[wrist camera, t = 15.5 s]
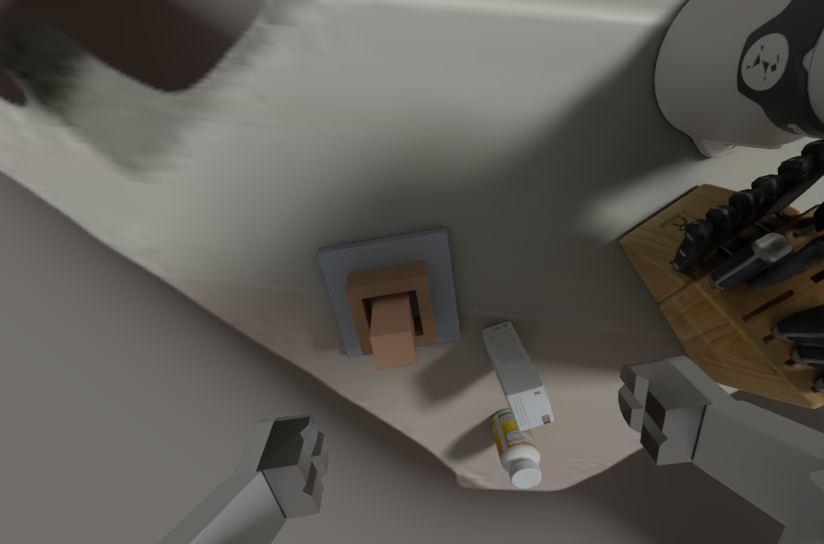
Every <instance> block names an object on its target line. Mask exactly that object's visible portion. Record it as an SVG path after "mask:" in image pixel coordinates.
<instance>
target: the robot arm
mask: <svg viewBox="0 0 824 544" xmlns="http://www.w3.org/2000/svg"><path fill="white" fill-rule="evenodd" d="M655 92H656V97H657V101H658V104H659V107H660V109H661V111H662V113H663V115H664V116H665V118H666V119H667V120H668V121H669V122H670V123H671V124H672V125H673V126H674V127H676V128H677V129H679V130H680V131H682V132H684V133H686V134H687V135H689V136H690V137H691V138H692V139H693V140H694V142H695V144H696V146H697V148H698V149H699V151H700V152H701V154H703V155H704V156H706V157H719V156H722V155H725V154H728V153H730V152H733V151H736V150H739V149H742V148H744V147H753V148H764V149H778V148H781V147H782V145H783V144H787V143H790V142H794V141H796V140H799V139H801V138H803V137H806V136H807V137H810V138H817V139H824V0H689V1H688V3H687V4H686V5H685V6H684V7H683V9H682V10H681V11H680V12H679V14H678V15H677V17H676V18H675V20H674V21H673V23H672V25H671V26H670V28H669V30H668V32H667V34H666V36H665V38H664V40H663V43H662V45H661V48H660V51H659V55H658V59H657V63H656V69H655ZM620 378H621V380H622V381H623V382H624V383H625V384H624V385H623V386H622V387H621V388H620V389H619V392H618V402H619V406H620V411H621V413H622V415H623V417H624V419H625V421H626V422H627V424H628V425H629V427H630V428H632V429H634V430H636V431H637V432H639V433H641V439H640V443H641V444H642V446H643V447H644V448H645V450H646V451H647V453H648V454H649V456H650V457H651V458H652V460H653V461H654V463H655V464H656V465H664V464H673V463H682V462H691V461H693V464H695V465H696V466H698V467H699V468H701V469H702V470H704V471H705V472H707V473H708V474H710V475H711V476H713V477H714V478H716V479H717V480H719V481H720V482H721V483H723V484H724V485H726V486H727V487H729V488H730V489H732V490H734V491H735V492H736V493H738V494H739V495H741V496H742V497H744V498H745V499H747V500H748V501H750V502H751V503H753V504H754V505H756V506H757V507H759V508H760V509H762V510H763V511H764V512H766V513H768V514H769V515H770V516H772V517H773V518H775V519H776V520H778V521H779V522H781V523H782V524H784V525H785V526H786V528H785V530H784V532H783V534H782V536H781V539H780V541H779V544H824V434H823V433H820V432H818V431H815V430H813V429H811V428H808V427H806V426H803V425H801V424H798V423H796V422H794V421H791V420H789V419H786V418H783V417H782V416H779V415H777V414H774V413H772V412H769V411H767V410H765V409H762V408H759V407H757V406H755V405H753V404H750V403H748V402H745V401H735V400H734V399H733V398H732V397H731V396H730V395H729V394H728V393H727V392H726V391H724V390H723V389H722V388H721V387H720V386H719V385H718V384H717V383H716V382H715V381H713V380H712V379H711V378H710V377H709V376H708V375H707V374H706V373H705V372H704V371H702V370H701V369H700V368H699V367H698V366H697V365H696V364H695V363H694V362H693V361H692V360H690V359H689V358H687V357H685V356H679V357H672V358H666V359H662V360H655V361H648V362H642V363H636V364H630V365H624V366H623V367H622V369H621V372H620ZM319 425H320V422H319V419H318V417H317V414H315V413H308V414H300V415H293V416H285V417H278V418H272V419H264V420H259V421H258V422H257V423H256V424H255V426H254V428H253V430H252V433H251V436H250V438H249V440H248V442H247V445H246V447H245V450H244V452H243V454H242V457H241V459H240V461H239V464H238V466H237V468H236V471H235V474H234V475H232V476H228V477H227V478H226V479H224V480H223V481H222V482H221V483H220V484H219V485H218V486H217V487H216V488H215V489H214V490H213V491H212V492H211V493H210V494H209V495H208V496H207V497H206V498H205V499H203V501H201V502H200V504H198V505H197V506H196V507H195V508H194V509H193V510H192V511H191V512H190V513H189V514H188V515H187V516H186V517H185V518H184V519H182V520H181V521H180V522H179V523H178V524H177V525H176V526H175V527H174V528H173V529H172V530H171V531H170V532H169V533H168V534H167V535H166V536H165V537H164V538H163V539H162V540H160V541H159V542H158V543H157V544H271V542H272V541H273V539H274V538H275V536H276V535H277V534H278V532H279V531H280V529H281V528H282V526H283V525H284V524H285V522H286V520H285V519H289V518H295V517H301V516H307V515H312V514H318V513H319V511H320V505H321V500H322V495H323V489H324V487H323V485H322V482H321V478H322V477H323V475H324V474H325V473H326V472H327V466H328V445H327V440H326V437H325V435H324V434H323V433H321V432H320V431H318V430H319Z"/></svg>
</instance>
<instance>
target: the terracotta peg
mask: <svg viewBox="0 0 824 544" xmlns="http://www.w3.org/2000/svg"><path fill="white" fill-rule="evenodd" d="M370 341H371V345H372V349H373V353H374V357H375V361H376V364H377V368H378V370H380V369H386V368H393V367H399V366H405V365H412V364H417V354H416V341H415V329H414V316H413V308H412V302H411V297H410V292H409V291H407V292H401V293H395V294H389V295H383V296H376V297H374V299H373V309H372V319H371V328H370Z"/></svg>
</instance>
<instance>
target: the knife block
mask: <svg viewBox="0 0 824 544" xmlns="http://www.w3.org/2000/svg"><path fill="white" fill-rule="evenodd" d="M801 155H802V156H797V157H793V158H790V159H788V160H786V161H783V162H782V163H781V165H780V166H779V168H778V175H773V174H770V175H766V176H762V177H758V178H757V179H756V180H755V181H754V182H752V184H751V186H752V189H746V190H742V191H739V192H737V191H733V190H729V189H726V188H722V187H718V186H714V185H710V184H703V185H701V186H699V187H698V188H696V189H695V190H693V191H692V192H690V193H689V194H687V195H686V196H684V197H683V198H681V199H680V200H678V201H677V202H675V203H674V204H672V205H671V206H669V207H668V208H666V209H665V210H663V211H662V212H660V213H659V214H657V215H656V216H654V217H653V218H651V219H650V220H648V221H647V222H645V223H644V224H642V225H641V226H639V227H638V228H636V229H635V230H633V231H632V232H630V233H629V234H627V235H626V236H624V237H623V238H622V239H620V240H619V244H620V245H621V247H622V248H623V250H624V252H625V253H626V255H627V256H628V258H629V260H630V261H631V263H632V264H633V266H634V268H635V269H636V271H637V272H638V274H639V276H640V277H641V279H642V280H643V282H644V284H645V285H646V287H647V288H648V290H649V291H650V293H651V294H652V295H653V297H654V298H655V299H656V301H657V302H659V303H660V304H659V308H660V310H661V311H662V313H663V315H664V316H665V318H666V320H667V321H668V323H669V325H670V326H671V328H672V330H673V331H674V333H675V334H676V336H677V338H678V339H679V341H680V343H681V344H682V346H683V347H684V349H685V351H686V352H687V354H688V356H689V357H690V359H691V360H692V361H693V362H694V363H695V364H696V365H697V366H698V367H699V368H700V369H701V370H702V371H704V372H705V373H706V374H707V375H708V376H709V377H710V378H711V379H712V380H713V381H715V382H716V383H719V384H723V385H726V386H729V387H733V388H736V389H740V390H744V391H747V392H751V393H754V394H758V395H762V396H765V397H769V398H773V399H777V400H780V401H784V402H788V403H792V404H796V405H800V406H804V407H809V408H818V407H820V406H822V405H824V202H823V203H821V204H818V205H815V206H814V207H812V208H810V209H809V210H807V211H806V212H804V213H802V214H801V213H800V212H799V211H798V210H797V209H795V208H793V207H791V206H789V205H790V204H791V203H792V202H793V201H794V200H796V199H797V198H798V197H799V196H800V195H802V194H803V193H804V192H805V191H806V190H808V189H809V188H810V187H811V186H812V185H813V184H814V183H815V182H816V181H818V180H819V179H820V178H821V177H822V176H823V175H824V139H822V140H817V141H814V142H811V143H809V144H807V145H806V146H805V147H804V148H803V150H802V151H801Z"/></svg>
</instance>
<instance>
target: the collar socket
mask: <svg viewBox="0 0 824 544" xmlns="http://www.w3.org/2000/svg"><path fill="white" fill-rule="evenodd" d="M317 257H318V261H319V264H320V267H321V271H322V274H323V277H324V280H325V284H326V287H327V290H328V294H329V297H330V300H331V304H332V307H333V310H334V314H335V317H336V320H337V324H338V327H339V330H340V334H341V337H342V340H343V344H344V347H345V350H346V354H347V357H348V358H349V357H355V356H361V355H369V354H374V353H373V349H372V345H371V341H370V328H371V319H372V309H373V299H374V297H376V296H383V295H389V294H395V293H401V292H407V291H409V292H410V297H411V302H412V308H413V316H414V329H415V341H416V347H420V346H426V345H432V344H438V343H444V342H450V341H457V340H461V334H460V326H459V318H458V311H457V303H456V295H455V288H454V280H453V272H452V265H451V257H450V249H449V242H448V234H447V230H446V227H445V228H439V229H433V230H427V231H421V232H415V233H409V234H403V235H398V236H392V237H386V238H380V239H374V240H368V241H362V242H356V243H350V244H344V245H338V246H332V247H326V248H320V249H319V250H318V252H317Z"/></svg>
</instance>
